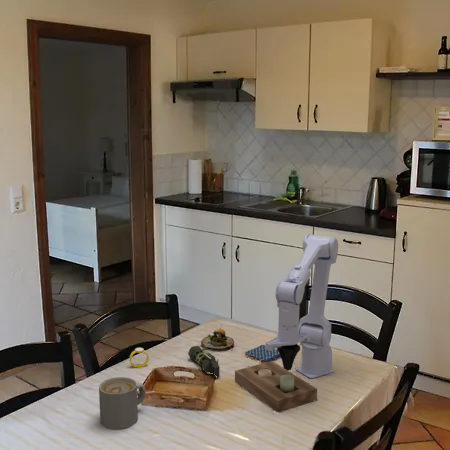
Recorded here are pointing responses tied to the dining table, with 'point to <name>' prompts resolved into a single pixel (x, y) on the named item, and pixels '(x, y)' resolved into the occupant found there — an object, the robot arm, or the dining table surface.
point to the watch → (139, 350)
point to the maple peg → (264, 373)
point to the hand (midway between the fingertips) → (287, 368)
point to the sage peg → (287, 383)
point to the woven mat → (263, 354)
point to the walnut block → (275, 387)
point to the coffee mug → (119, 402)
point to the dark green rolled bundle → (204, 360)
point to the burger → (218, 340)
